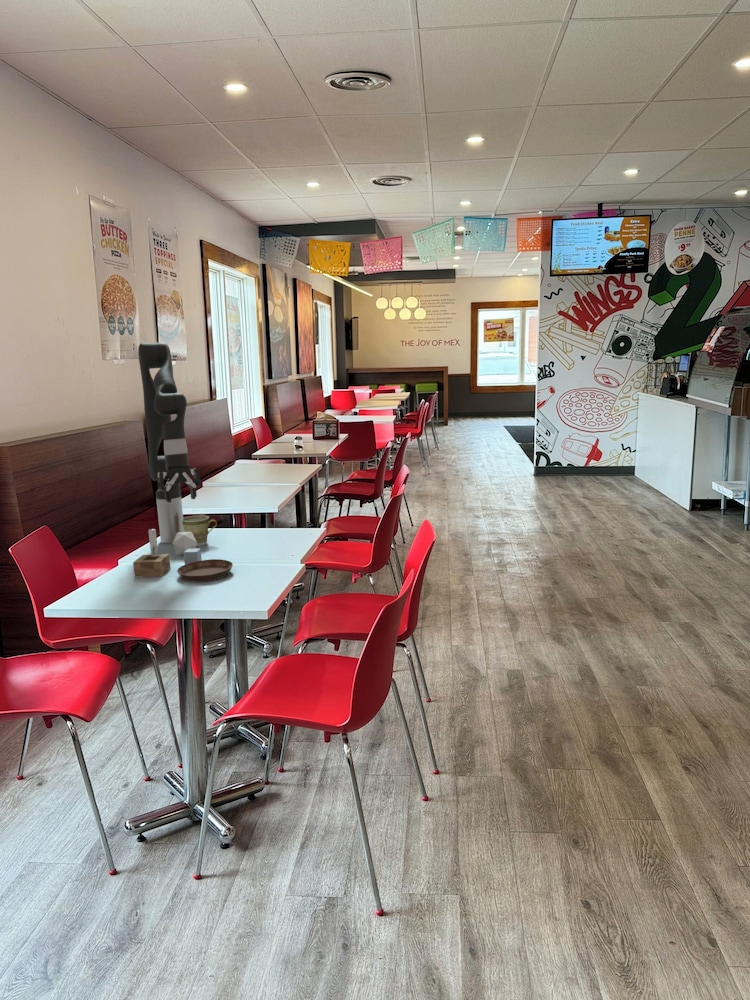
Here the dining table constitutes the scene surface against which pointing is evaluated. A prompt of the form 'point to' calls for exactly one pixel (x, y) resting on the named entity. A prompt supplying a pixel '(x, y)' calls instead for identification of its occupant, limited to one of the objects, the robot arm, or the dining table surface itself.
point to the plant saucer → (205, 570)
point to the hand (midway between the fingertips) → (181, 500)
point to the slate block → (192, 555)
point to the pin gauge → (153, 541)
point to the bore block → (151, 565)
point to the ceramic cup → (198, 527)
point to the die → (184, 542)
